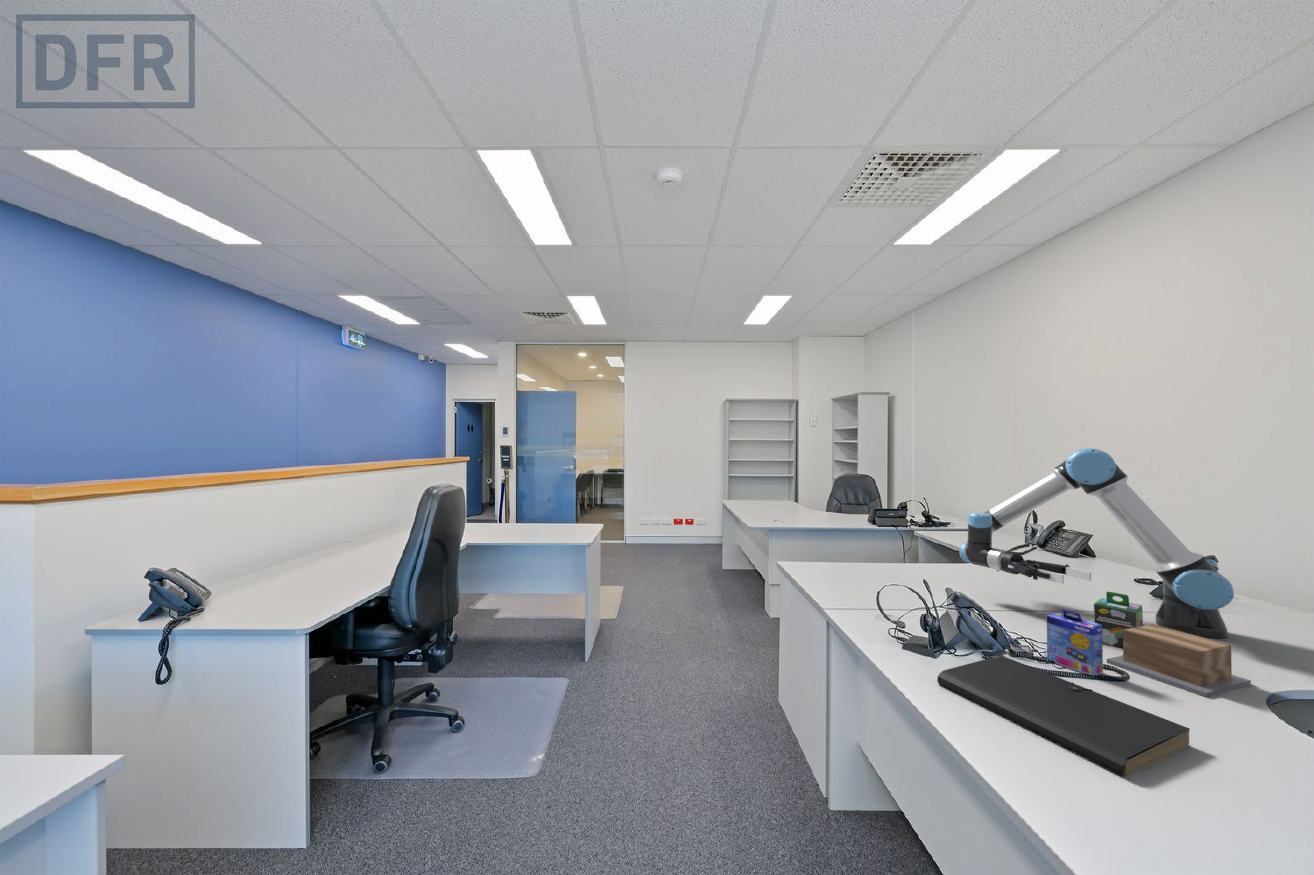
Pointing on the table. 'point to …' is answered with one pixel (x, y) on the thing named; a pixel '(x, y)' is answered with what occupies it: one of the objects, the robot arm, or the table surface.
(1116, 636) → the chalk box
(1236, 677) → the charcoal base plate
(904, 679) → the table surface
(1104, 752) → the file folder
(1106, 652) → the table surface
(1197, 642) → the walnut base brick
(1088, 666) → the ink cartridge box
